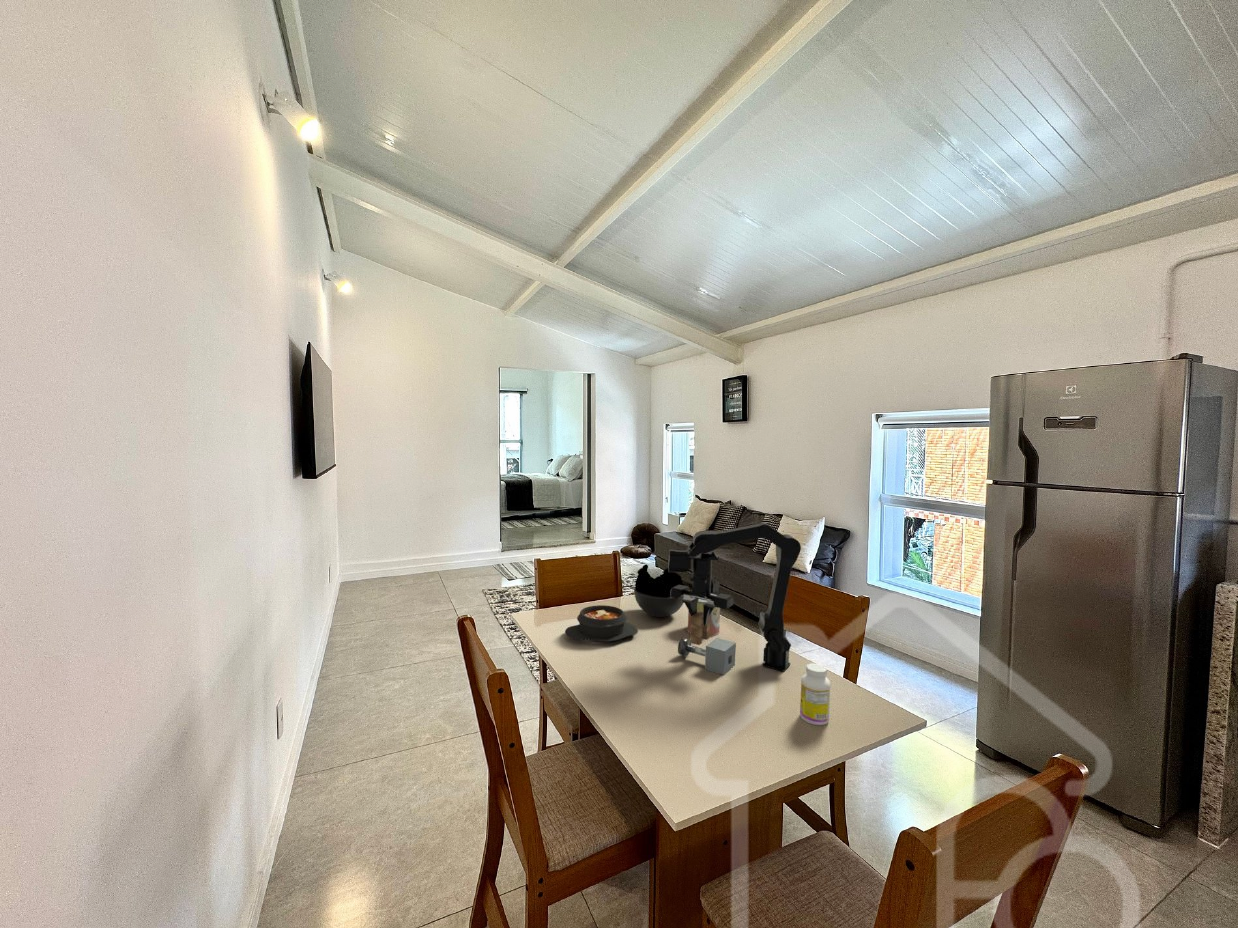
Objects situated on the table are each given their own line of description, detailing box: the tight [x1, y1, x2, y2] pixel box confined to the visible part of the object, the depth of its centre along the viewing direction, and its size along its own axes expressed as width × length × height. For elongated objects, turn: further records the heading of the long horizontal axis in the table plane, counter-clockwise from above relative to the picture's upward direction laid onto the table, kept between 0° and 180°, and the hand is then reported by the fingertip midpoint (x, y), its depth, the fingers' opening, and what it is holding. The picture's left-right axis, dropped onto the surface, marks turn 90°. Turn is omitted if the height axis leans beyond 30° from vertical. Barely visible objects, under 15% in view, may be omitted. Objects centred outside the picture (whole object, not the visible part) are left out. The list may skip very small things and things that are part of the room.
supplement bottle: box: [799, 663, 831, 726], centre depth 124 cm, size 7×7×13 cm
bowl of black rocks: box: [633, 563, 685, 618], centre depth 194 cm, size 20×20×19 cm
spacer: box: [689, 611, 710, 646], centre depth 154 cm, size 3×7×8 cm, turn 145°
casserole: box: [564, 604, 639, 643], centre depth 172 cm, size 25×19×8 cm
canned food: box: [687, 593, 721, 638], centre depth 180 cm, size 11×11×12 cm
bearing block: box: [704, 637, 737, 676], centre depth 151 cm, size 6×8×7 cm
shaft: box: [677, 637, 706, 657], centre depth 155 cm, size 13×5×5 cm, turn 55°
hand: (700, 624), depth 154 cm, fingers closed on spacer, 3 cm apart
